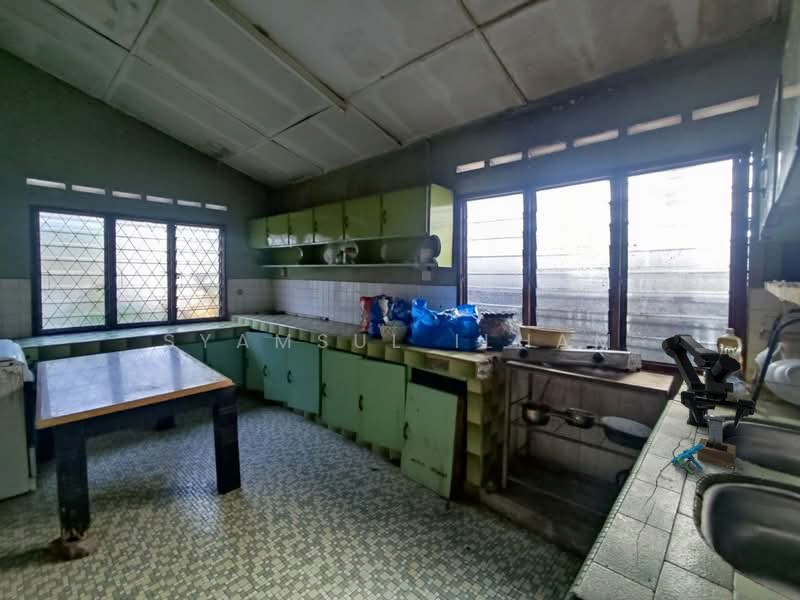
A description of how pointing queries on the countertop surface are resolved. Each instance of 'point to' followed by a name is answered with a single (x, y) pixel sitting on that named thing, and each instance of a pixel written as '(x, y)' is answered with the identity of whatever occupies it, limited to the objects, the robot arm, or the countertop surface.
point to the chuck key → (715, 431)
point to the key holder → (717, 454)
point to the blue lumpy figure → (688, 455)
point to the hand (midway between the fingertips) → (715, 425)
